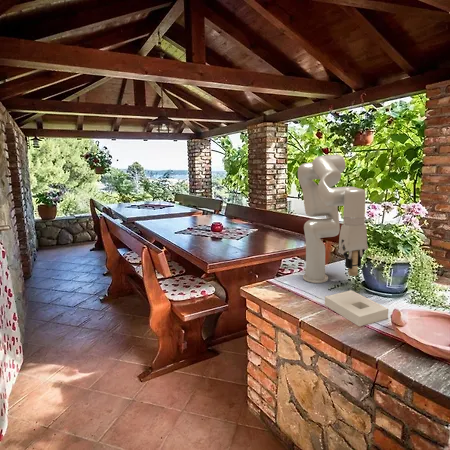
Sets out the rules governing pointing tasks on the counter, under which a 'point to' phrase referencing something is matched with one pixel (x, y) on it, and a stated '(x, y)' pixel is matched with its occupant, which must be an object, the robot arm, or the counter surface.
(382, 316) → the peg board
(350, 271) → the beech peg
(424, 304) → the counter surface
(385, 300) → the counter surface
